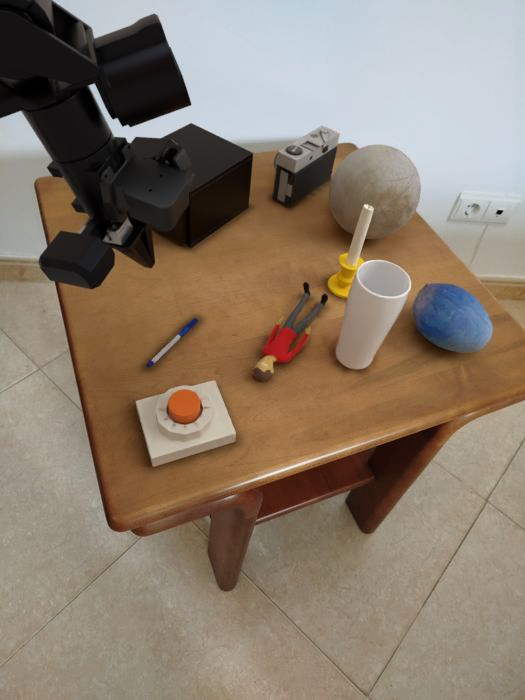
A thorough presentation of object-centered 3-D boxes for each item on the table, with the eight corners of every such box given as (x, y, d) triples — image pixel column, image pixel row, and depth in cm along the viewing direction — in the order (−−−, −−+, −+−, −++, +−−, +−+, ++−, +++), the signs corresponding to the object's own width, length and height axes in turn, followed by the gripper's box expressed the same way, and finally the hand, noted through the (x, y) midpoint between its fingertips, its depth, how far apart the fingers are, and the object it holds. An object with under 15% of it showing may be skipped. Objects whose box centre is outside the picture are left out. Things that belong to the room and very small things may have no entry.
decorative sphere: (392, 206, 93) (419, 129, 81) (413, 258, 84) (447, 180, 72) (315, 202, 91) (332, 124, 79) (328, 255, 82) (348, 175, 70)
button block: (152, 467, 55) (149, 451, 52) (137, 410, 60) (133, 392, 57) (235, 442, 58) (237, 425, 55) (214, 389, 63) (215, 371, 60)
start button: (173, 427, 55) (172, 419, 53) (165, 401, 57) (164, 393, 55) (204, 418, 56) (204, 410, 54) (195, 394, 58) (195, 385, 56)
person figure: (331, 286, 71) (271, 368, 60) (333, 307, 73) (276, 389, 63) (300, 280, 73) (237, 358, 63) (303, 301, 76) (244, 379, 65)
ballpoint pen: (193, 319, 70) (193, 314, 70) (198, 321, 70) (198, 316, 69) (146, 366, 64) (146, 362, 64) (152, 369, 64) (151, 365, 63)
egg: (424, 246, 69) (515, 309, 64) (418, 275, 77) (499, 334, 71) (382, 287, 68) (471, 355, 63) (380, 313, 76) (459, 375, 71)
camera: (298, 163, 99) (306, 114, 91) (331, 180, 96) (343, 131, 89) (255, 190, 92) (260, 139, 84) (290, 209, 89) (298, 158, 81)
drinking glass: (385, 368, 68) (423, 291, 56) (343, 381, 66) (373, 303, 54) (362, 333, 71) (393, 254, 60) (321, 344, 69) (345, 264, 58)
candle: (341, 271, 80) (366, 187, 68) (366, 288, 78) (396, 205, 65) (320, 285, 77) (342, 200, 65) (345, 303, 75) (373, 220, 63)
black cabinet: (191, 248, 80) (189, 191, 71) (131, 213, 84) (124, 156, 76) (248, 207, 88) (253, 152, 80) (192, 177, 92) (191, 122, 84)
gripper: (96, 228, 35) (172, 347, 48) (206, 83, 43) (245, 217, 56) (-12, 211, 39) (84, 325, 52) (107, 81, 48) (165, 206, 60)
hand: (150, 265), depth 55 cm, fingers closed
